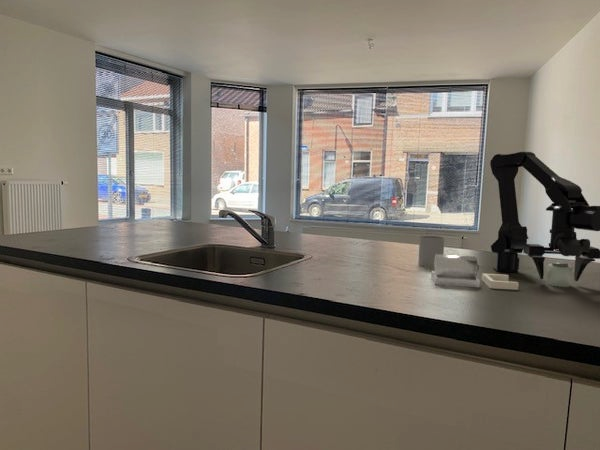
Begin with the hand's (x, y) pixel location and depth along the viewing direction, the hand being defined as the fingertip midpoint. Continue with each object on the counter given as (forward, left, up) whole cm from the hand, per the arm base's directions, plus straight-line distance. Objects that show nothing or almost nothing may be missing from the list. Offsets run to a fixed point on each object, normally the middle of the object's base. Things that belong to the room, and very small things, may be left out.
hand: (558, 280), depth 123 cm
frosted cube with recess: (0, 0, -1) cm, 1 cm away
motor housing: (-30, -5, -1) cm, 30 cm away
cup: (-34, +21, -2) cm, 40 cm away
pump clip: (-18, -5, -1) cm, 18 cm away
